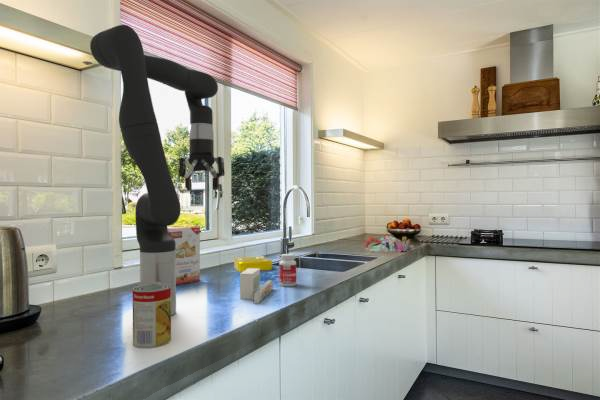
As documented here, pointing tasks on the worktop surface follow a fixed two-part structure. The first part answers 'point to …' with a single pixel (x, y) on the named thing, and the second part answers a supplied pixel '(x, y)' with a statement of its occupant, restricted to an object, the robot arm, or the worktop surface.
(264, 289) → the rail
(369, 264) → the worktop surface
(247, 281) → the product carton
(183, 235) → the cracker box
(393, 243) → the candy landscape model
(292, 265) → the pill bottle
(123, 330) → the worktop surface
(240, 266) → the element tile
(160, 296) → the canned food
